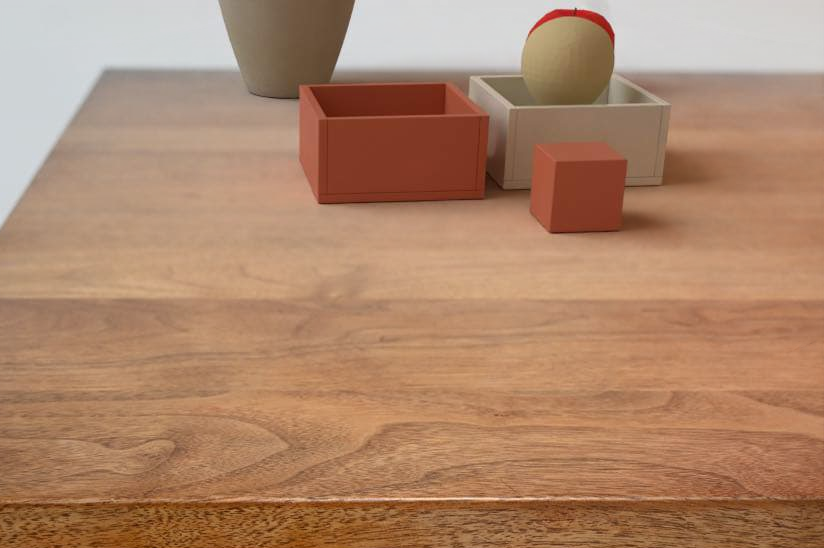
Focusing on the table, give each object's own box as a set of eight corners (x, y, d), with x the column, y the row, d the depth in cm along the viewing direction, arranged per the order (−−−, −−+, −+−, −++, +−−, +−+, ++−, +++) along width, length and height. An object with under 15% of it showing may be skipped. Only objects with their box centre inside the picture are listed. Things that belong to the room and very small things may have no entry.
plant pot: (184, 82, 120) (178, -96, 113) (326, 70, 125) (328, -100, 119) (240, 113, 107) (237, -84, 101) (395, 99, 113) (401, -89, 106)
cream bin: (607, 145, 97) (615, 72, 95) (661, 185, 87) (671, 104, 84) (465, 149, 96) (469, 75, 94) (503, 189, 86) (508, 108, 83)
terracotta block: (596, 209, 81) (603, 141, 80) (620, 230, 77) (628, 159, 76) (528, 211, 81) (534, 143, 79) (549, 233, 77) (555, 161, 75)
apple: (507, 89, 116) (513, 7, 113) (550, 77, 122) (556, -2, 119) (585, 101, 112) (593, 16, 109) (626, 88, 117) (634, 6, 114)
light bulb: (496, 158, 91) (505, 16, 87) (549, 143, 95) (560, 7, 91) (569, 174, 87) (583, 27, 83) (621, 158, 91) (637, 17, 87)
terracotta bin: (447, 156, 94) (451, 81, 92) (484, 198, 84) (489, 115, 81) (299, 160, 93) (299, 84, 91) (317, 203, 83) (318, 119, 80)
